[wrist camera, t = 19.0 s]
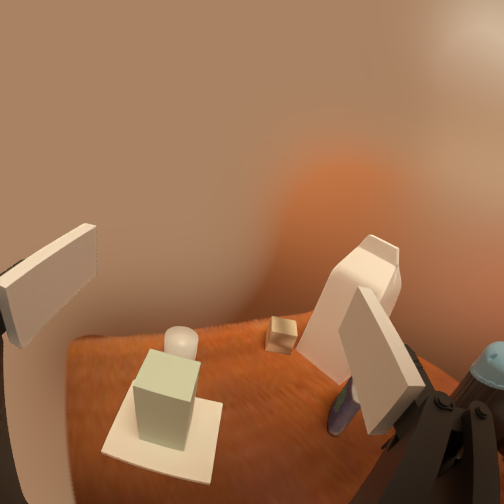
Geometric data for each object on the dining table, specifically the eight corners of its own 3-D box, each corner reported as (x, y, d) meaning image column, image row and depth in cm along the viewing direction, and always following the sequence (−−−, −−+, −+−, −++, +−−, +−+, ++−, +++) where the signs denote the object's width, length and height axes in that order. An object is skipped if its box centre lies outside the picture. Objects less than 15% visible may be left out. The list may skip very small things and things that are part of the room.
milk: (295, 349, 56) (340, 228, 46) (327, 333, 64) (369, 227, 54) (339, 385, 48) (402, 260, 38) (367, 362, 56) (421, 253, 46)
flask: (339, 438, 36) (372, 397, 32) (322, 433, 37) (352, 390, 33) (348, 400, 45) (375, 358, 41) (333, 395, 45) (359, 352, 41)
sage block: (192, 417, 35) (200, 362, 31) (183, 451, 30) (190, 401, 25) (151, 406, 35) (150, 348, 30) (139, 439, 29) (132, 385, 25)
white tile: (222, 406, 39) (222, 403, 39) (209, 485, 26) (210, 483, 26) (134, 382, 39) (133, 379, 38) (101, 453, 26) (100, 451, 25)
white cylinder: (195, 365, 46) (201, 330, 43) (189, 386, 41) (194, 351, 38) (167, 358, 46) (170, 322, 43) (159, 378, 41) (160, 342, 38)
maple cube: (288, 339, 59) (296, 321, 57) (289, 355, 54) (297, 336, 52) (265, 335, 59) (271, 316, 57) (265, 350, 54) (271, 331, 52)
